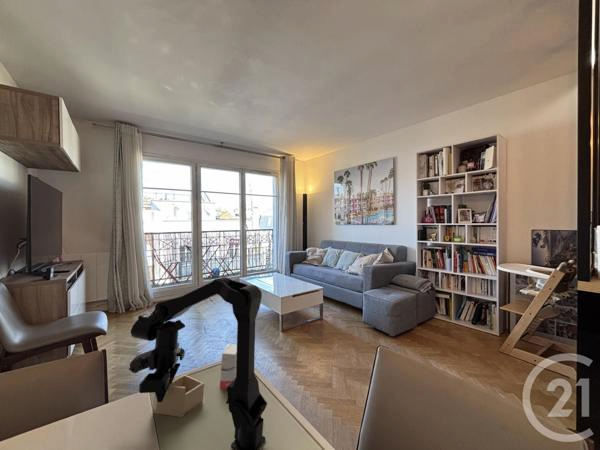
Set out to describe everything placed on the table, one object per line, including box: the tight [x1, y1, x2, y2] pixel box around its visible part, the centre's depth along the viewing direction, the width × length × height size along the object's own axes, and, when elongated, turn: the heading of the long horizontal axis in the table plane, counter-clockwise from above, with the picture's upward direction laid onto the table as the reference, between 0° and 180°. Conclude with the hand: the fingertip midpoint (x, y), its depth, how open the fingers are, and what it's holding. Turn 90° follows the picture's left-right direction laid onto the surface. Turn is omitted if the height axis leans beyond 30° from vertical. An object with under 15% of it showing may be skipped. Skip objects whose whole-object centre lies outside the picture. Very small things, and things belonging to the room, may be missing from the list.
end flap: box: [152, 385, 186, 418], centre depth 73 cm, size 9×2×8 cm, turn 85°
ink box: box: [219, 343, 237, 389], centre depth 91 cm, size 9×5×12 cm, turn 3°
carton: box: [171, 374, 205, 416], centre depth 78 cm, size 9×7×6 cm
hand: (162, 397), depth 72 cm, fingers open, 3 cm apart
